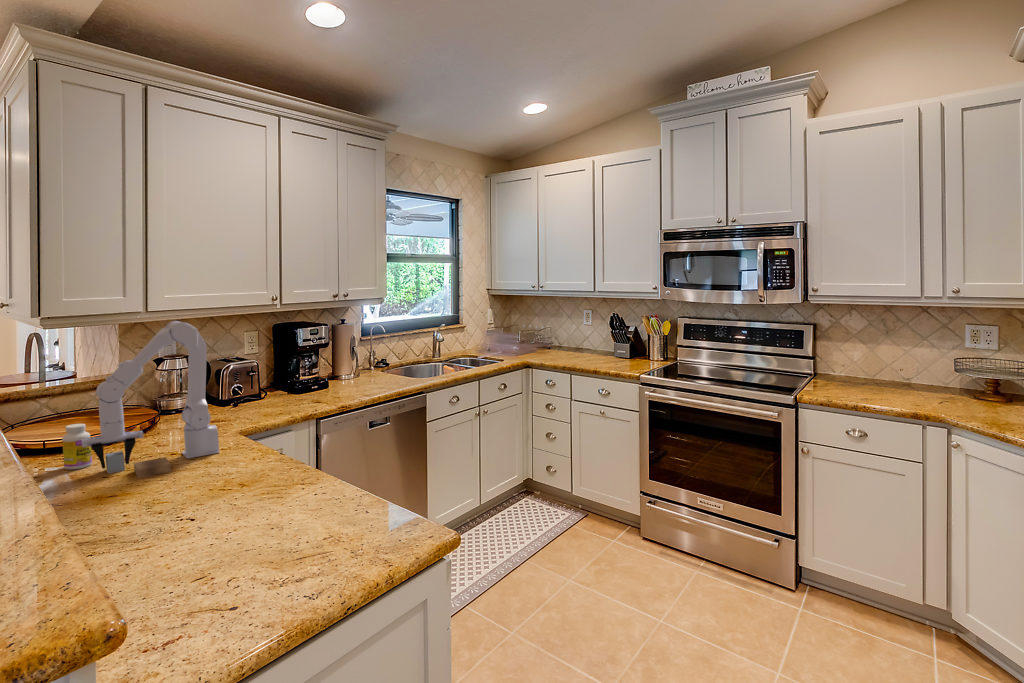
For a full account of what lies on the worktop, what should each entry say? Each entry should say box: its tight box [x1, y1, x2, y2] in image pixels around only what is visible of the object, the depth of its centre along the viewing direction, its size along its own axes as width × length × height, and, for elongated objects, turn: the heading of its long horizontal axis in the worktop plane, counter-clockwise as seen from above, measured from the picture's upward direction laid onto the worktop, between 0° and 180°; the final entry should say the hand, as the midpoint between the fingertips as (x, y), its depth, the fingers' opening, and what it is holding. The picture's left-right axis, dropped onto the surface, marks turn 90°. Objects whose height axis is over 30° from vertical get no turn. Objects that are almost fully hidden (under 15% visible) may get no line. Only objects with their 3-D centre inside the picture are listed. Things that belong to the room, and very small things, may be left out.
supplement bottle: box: [61, 423, 93, 471], centre depth 159 cm, size 7×7×13 cm
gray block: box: [104, 450, 126, 474], centre depth 157 cm, size 4×4×5 cm
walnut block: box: [133, 456, 172, 480], centre depth 156 cm, size 8×8×3 cm
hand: (115, 465), depth 157 cm, fingers open, 5 cm apart
